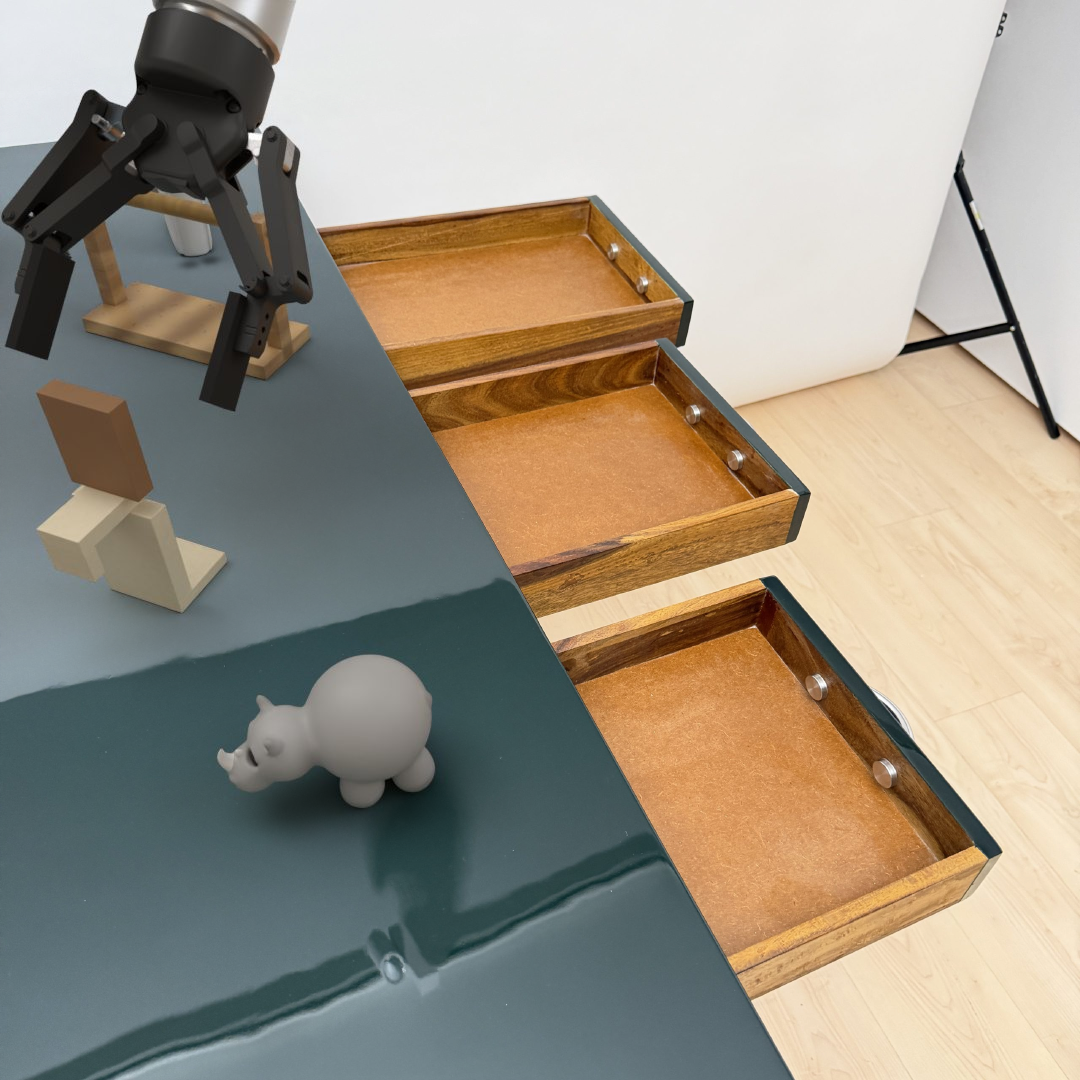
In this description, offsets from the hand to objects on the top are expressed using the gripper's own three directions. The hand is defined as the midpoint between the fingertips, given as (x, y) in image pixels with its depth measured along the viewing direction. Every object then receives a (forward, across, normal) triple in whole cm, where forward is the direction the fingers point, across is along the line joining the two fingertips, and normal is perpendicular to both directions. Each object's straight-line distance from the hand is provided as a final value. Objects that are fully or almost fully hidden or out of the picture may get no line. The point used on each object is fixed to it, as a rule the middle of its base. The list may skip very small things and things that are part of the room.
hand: (119, 379), depth 54 cm
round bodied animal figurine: (+20, -19, -4) cm, 27 cm away
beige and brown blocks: (+14, 0, -10) cm, 17 cm away
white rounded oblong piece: (-20, +30, -43) cm, 56 cm away
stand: (-8, +17, -31) cm, 36 cm away
